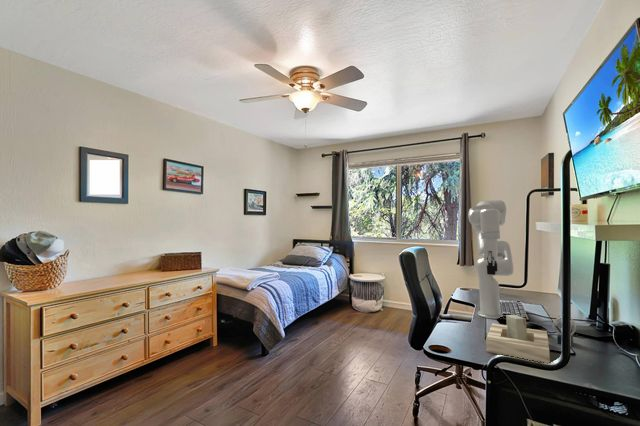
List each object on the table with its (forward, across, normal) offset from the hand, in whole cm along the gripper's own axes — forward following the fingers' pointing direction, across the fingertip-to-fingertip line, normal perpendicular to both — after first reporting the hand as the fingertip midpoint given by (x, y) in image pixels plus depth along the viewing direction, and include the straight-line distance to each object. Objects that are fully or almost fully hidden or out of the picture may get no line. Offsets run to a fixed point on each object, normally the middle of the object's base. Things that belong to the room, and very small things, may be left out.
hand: (492, 272), depth 138 cm
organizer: (+28, +12, +9) cm, 32 cm away
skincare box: (+28, +12, +9) cm, 32 cm away
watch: (+28, -3, +25) cm, 38 cm away
